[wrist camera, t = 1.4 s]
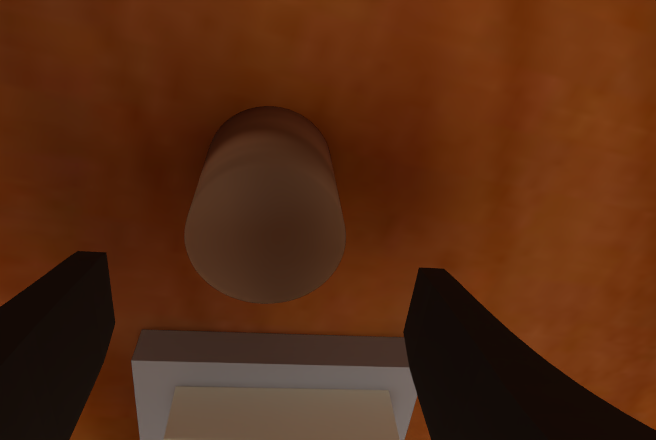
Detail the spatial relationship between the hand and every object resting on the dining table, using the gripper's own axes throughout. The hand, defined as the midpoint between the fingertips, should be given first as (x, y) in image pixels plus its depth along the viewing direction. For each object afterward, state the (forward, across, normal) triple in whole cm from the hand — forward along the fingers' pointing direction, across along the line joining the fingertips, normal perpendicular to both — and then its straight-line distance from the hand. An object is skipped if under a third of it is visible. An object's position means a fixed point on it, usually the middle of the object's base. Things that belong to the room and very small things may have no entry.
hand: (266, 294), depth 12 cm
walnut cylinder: (+7, 0, 0) cm, 7 cm away
